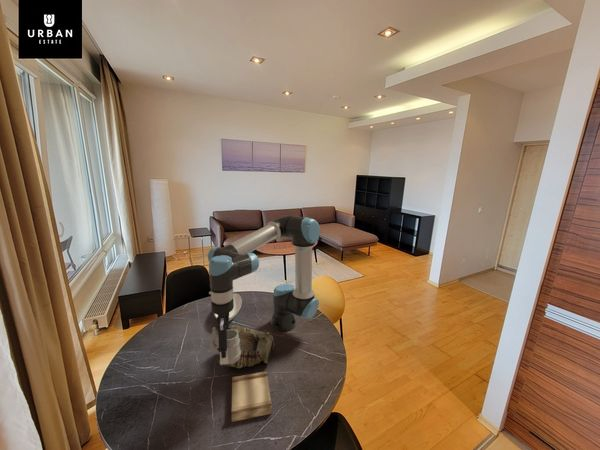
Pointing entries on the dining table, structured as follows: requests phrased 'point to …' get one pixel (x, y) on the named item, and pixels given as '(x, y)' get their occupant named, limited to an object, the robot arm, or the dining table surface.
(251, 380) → the plinth
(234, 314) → the bowl
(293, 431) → the dining table surface
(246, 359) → the sculptural head
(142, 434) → the dining table surface
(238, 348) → the mug
